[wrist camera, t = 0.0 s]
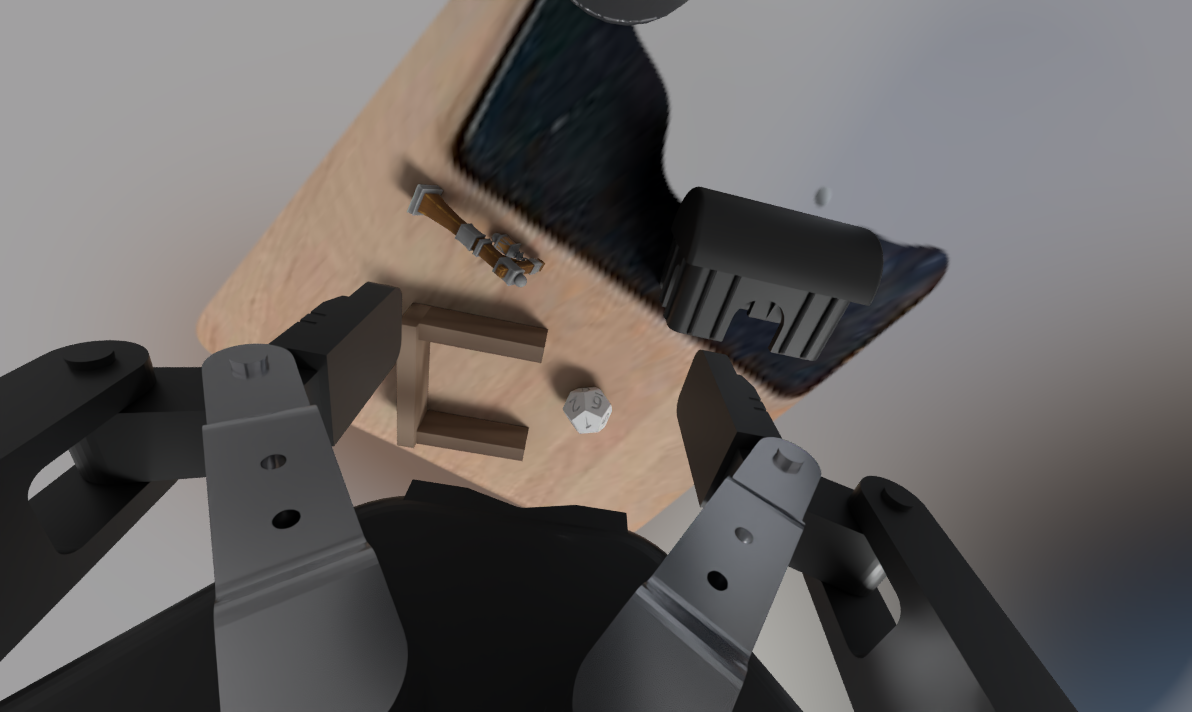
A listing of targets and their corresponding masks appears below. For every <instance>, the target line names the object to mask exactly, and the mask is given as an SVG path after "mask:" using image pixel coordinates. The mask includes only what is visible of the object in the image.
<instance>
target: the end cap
mask: <svg viewBox="0 0 1192 712" xmlns="http://www.w3.org/2000/svg"><path fill="white" fill-rule="evenodd" d="M671 231H672V233H673V235H674V236H673V239H672V242H671V245H670V248H669V252H668V255H667V258H666V261H665V264H664V267H663V270H662V273H661V276H660V281H659V283H660V287H661V288H662V290H661V293H660V296H659V300H660V302H661V304H662V306H664V307H666V309H665V311H664V314H663V316H664V318H665V319H666V322H667V325H668V327H669V328H670V329H672V330H674V331H676V332H679V333H683V334H688V335H693V336H698V337H702V338H707V339H712V340H717V341H721V342H722V340H723V338H724V335H725V333H726V331H727V329H728V326H729V324H730V322H731V319H732V317H733V316H734V314H735V313H736V312H737V310H738V309H740V308H741V309H746V310H748V311H747V315H748V316H749V317H753V318H758V319H762V320H767V321H771V322H776V323H780V325H779V327H778V329H777V331H776V333H775V335H774V337H773V339H772V341H771V343H770V345H769V347H768V349H769V350H770V352H773V353H778V354H783V355H787V356H792V357H797V358H802V359H806V360H812V361H815V360H817V358H818V357H819V355H820V353H821V351H822V350H823V348H824V346H825V344H826V343H827V341H828V339H829V338H830V336H831V334H832V332H833V331H834V329H835V327H836V325H837V324H838V322H839V320H840V319H841V317H842V315H843V313H844V312H845V310H846V308H847V306H848V305H849V303H850V302H855V303H859V304H864V305H868V306H870V304H871V302H872V301H873V299H874V297H875V295H876V292H877V290H878V287H879V284H880V281H881V276H882V272H883V251H882V247H881V244H880V241H879V240H878V238H877V236H876V235H875V234H874V233H873V232H871V231H870V230H868V229H865V228H862V227H858V226H854V225H850V224H846V223H842V222H838V221H834V220H830V219H826V218H822V217H818V216H814V215H810V214H806V213H802V212H798V211H794V210H790V209H786V208H782V207H778V206H774V205H771V204H766V203H762V202H759V201H754V200H751V199H747V198H743V197H739V196H734V195H731V194H727V193H723V192H719V191H715V190H710V189H707V188H703V187H695V188H693V189H691V190H690V191H689V192H688V194H687V195H686V196H685V198H684V199H683V201H682V203H681V204H680V207H679V209H678V211H677V213H676V216H675V218H674V221H673V224H672V227H671Z"/></svg>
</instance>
